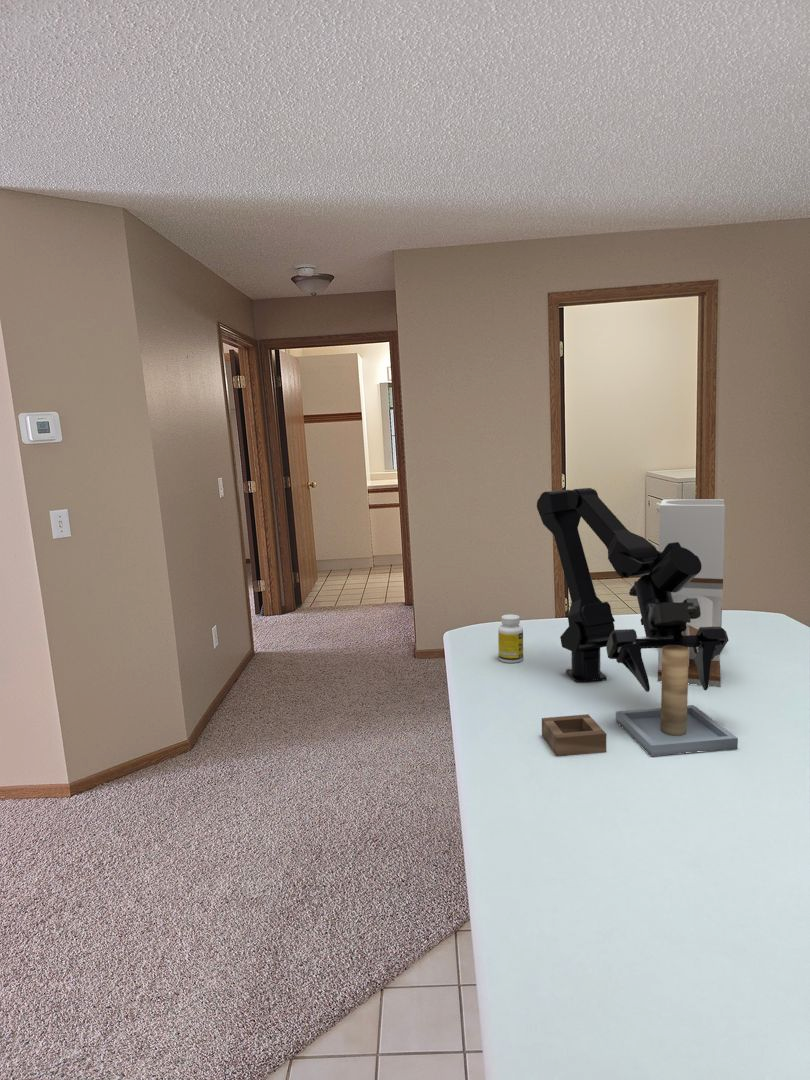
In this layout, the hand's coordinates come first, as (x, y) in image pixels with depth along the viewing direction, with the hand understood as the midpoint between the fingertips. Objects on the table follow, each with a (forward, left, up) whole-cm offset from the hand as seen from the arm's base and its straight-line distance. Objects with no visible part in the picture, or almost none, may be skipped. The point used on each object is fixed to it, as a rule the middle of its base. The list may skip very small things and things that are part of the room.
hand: (677, 689), depth 118 cm
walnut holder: (-1, -17, -8) cm, 19 cm away
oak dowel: (-1, 0, -8) cm, 8 cm away
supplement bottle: (-45, -16, -8) cm, 49 cm away
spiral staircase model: (-27, +16, -8) cm, 33 cm away
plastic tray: (-1, 0, -8) cm, 8 cm away
